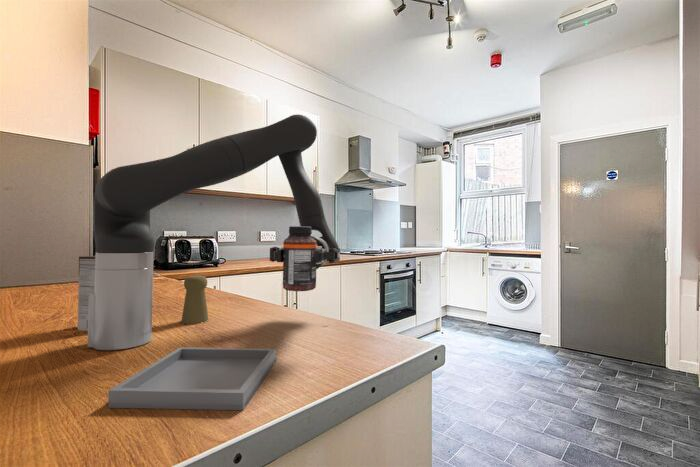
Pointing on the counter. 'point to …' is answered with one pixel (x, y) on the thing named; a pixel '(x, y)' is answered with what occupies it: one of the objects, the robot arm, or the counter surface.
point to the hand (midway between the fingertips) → (297, 256)
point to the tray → (196, 380)
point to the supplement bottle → (299, 260)
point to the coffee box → (85, 289)
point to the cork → (195, 300)
